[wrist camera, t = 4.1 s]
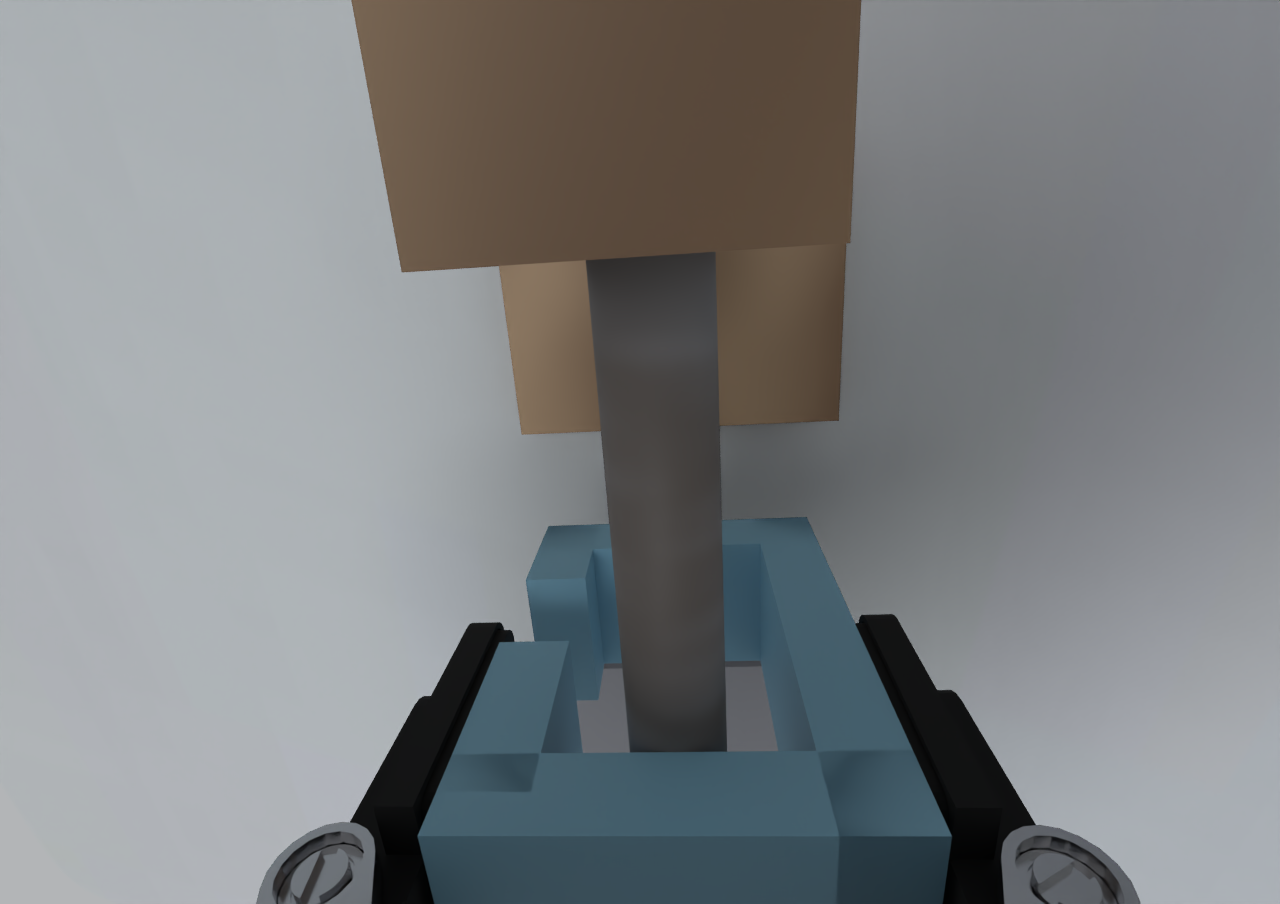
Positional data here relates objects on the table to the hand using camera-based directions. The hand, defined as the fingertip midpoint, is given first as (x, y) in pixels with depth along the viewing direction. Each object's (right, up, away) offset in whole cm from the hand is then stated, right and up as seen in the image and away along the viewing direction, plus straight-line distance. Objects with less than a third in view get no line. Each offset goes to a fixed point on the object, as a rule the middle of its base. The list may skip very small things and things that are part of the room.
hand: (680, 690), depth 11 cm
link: (0, +1, +4) cm, 4 cm away
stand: (0, +6, +9) cm, 11 cm away
